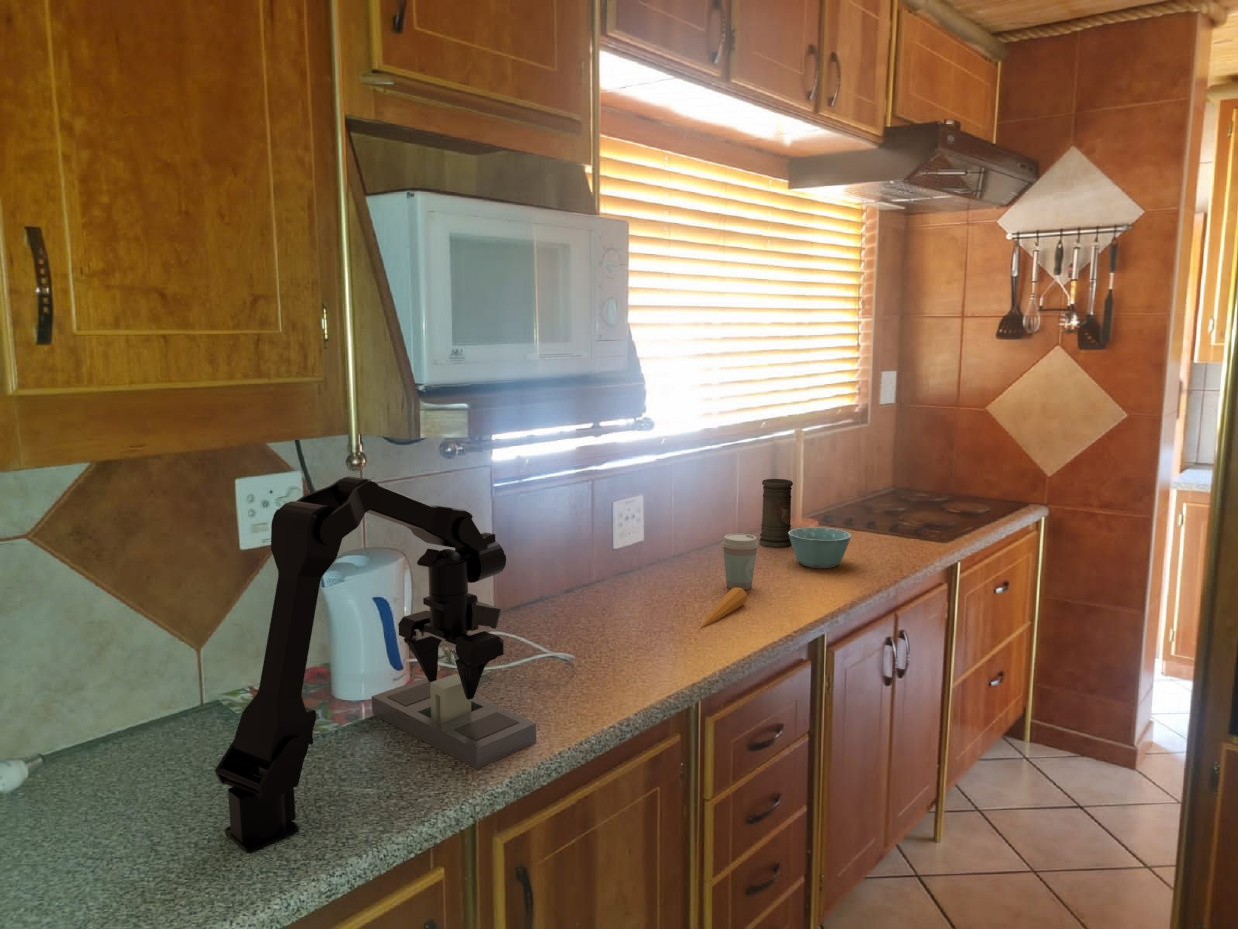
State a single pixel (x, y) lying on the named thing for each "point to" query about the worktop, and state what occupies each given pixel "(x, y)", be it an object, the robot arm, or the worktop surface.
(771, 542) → the container
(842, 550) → the bowl
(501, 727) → the grey slotted tray
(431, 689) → the beige slotted block
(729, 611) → the carrot
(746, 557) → the coffee cup
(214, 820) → the worktop surface
